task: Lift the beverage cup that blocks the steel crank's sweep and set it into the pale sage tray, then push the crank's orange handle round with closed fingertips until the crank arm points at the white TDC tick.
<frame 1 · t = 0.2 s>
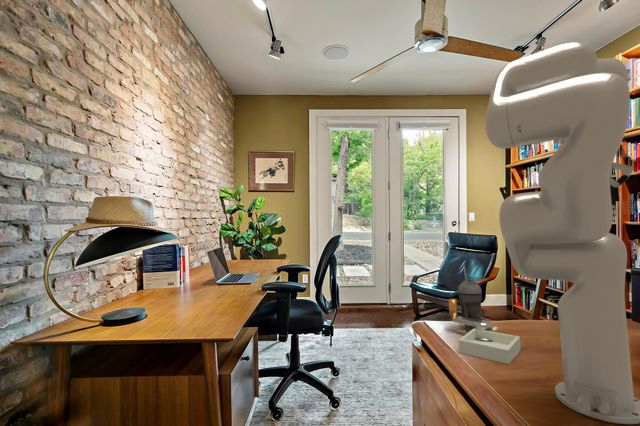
hand: (586, 206, 76), 37 cm above the table, tool pointing down, fingers open, 9 cm apart
crank base: (483, 339, 91), on the table
crank: (469, 313, 94), point 7 cm above the table, hinge at 80.0°
tdc tick: (494, 329, 98), on the table
tray: (490, 351, 82), on the table
beverage cup: (472, 329, 99), on the table
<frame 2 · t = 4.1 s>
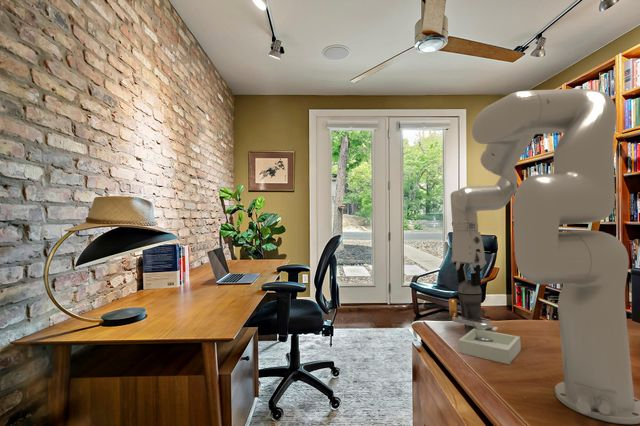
hand: (469, 283, 100), 15 cm above the table, tool pointing down, fingers closed on beverage cup, 5 cm apart
beverage cup: (472, 329, 99), on the table, touching gripper
everything else where it was.
when the fingers open (17 cm above the table, at t = 8.8 s): beverage cup drops 1 cm, resting on tray.
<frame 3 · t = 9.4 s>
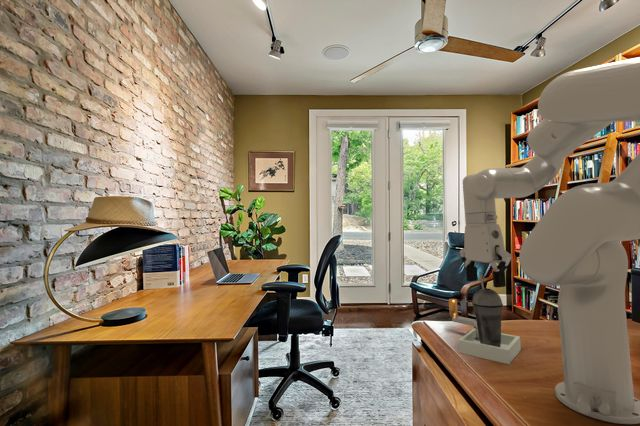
hand: (485, 283, 83), 18 cm above the table, tool pointing down, fingers open, 9 cm apart
beverage cup: (490, 348, 82), point 1 cm above the table, touching tray
everything else where it was.
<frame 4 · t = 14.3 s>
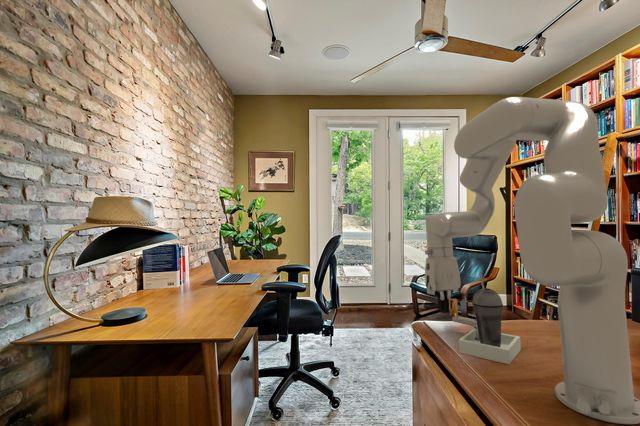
hand: (444, 311, 97), 7 cm above the table, tool pointing down, fingers closed
crank: (469, 313, 94), point 7 cm above the table, hinge at 79.4°, touching gripper
everything else where it was.
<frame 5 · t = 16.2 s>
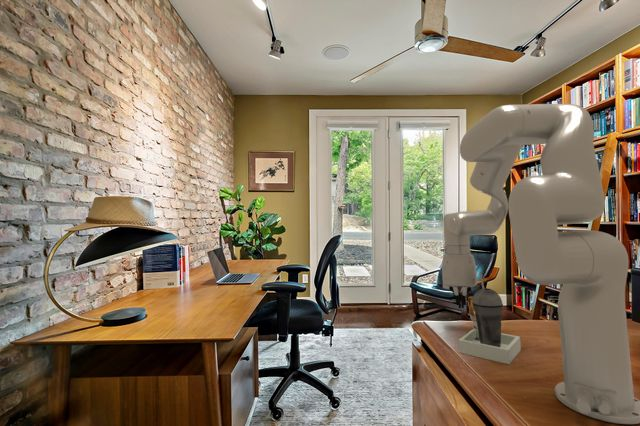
hand: (461, 307, 101), 7 cm above the table, tool pointing down, fingers closed
crank: (478, 312, 95), point 7 cm above the table, hinge at 33.2°, touching gripper
everything else where it was.
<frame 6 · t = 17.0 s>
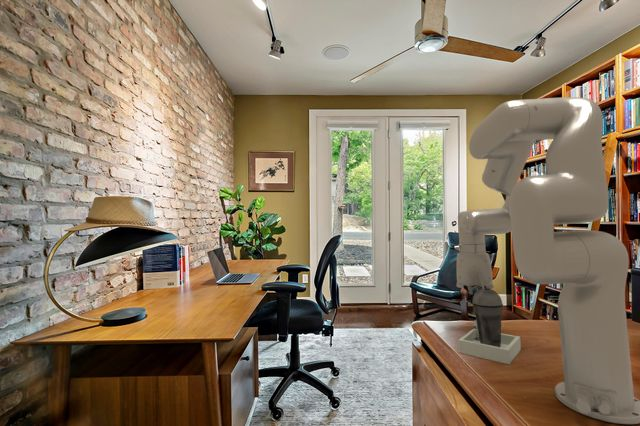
hand: (475, 306, 100), 7 cm above the table, tool pointing down, fingers closed
crank: (484, 312, 94), point 7 cm above the table, hinge at 6.5°, touching gripper
everything else where it was.
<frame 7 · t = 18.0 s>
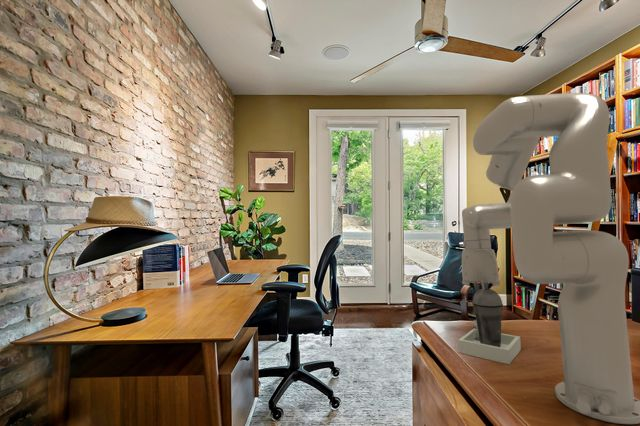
hand: (482, 303, 98), 8 cm above the table, tool pointing down, fingers closed
crank: (487, 313, 93), point 7 cm above the table, hinge at -5.2°
everything else where it was.
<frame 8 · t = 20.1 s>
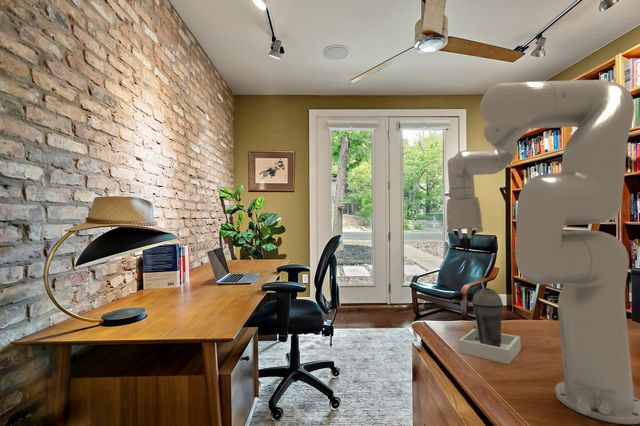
hand: (466, 250, 100), 25 cm above the table, tool pointing down, fingers closed
nothing on the table moved.
at the end: beverage cup inside the target area on the tray (0.2 cm from its centre), point 0.6 cm above the tray's base; beverage cup tilted 0°; crank at -5° (first picture: +80°) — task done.
